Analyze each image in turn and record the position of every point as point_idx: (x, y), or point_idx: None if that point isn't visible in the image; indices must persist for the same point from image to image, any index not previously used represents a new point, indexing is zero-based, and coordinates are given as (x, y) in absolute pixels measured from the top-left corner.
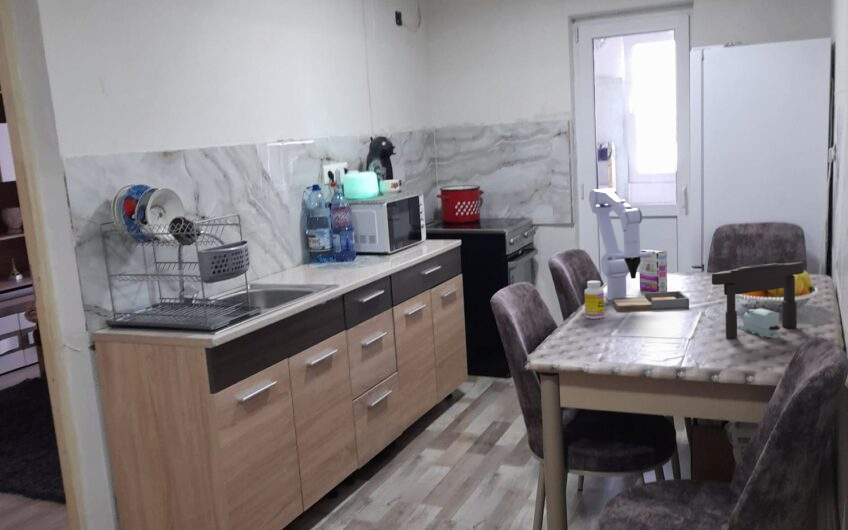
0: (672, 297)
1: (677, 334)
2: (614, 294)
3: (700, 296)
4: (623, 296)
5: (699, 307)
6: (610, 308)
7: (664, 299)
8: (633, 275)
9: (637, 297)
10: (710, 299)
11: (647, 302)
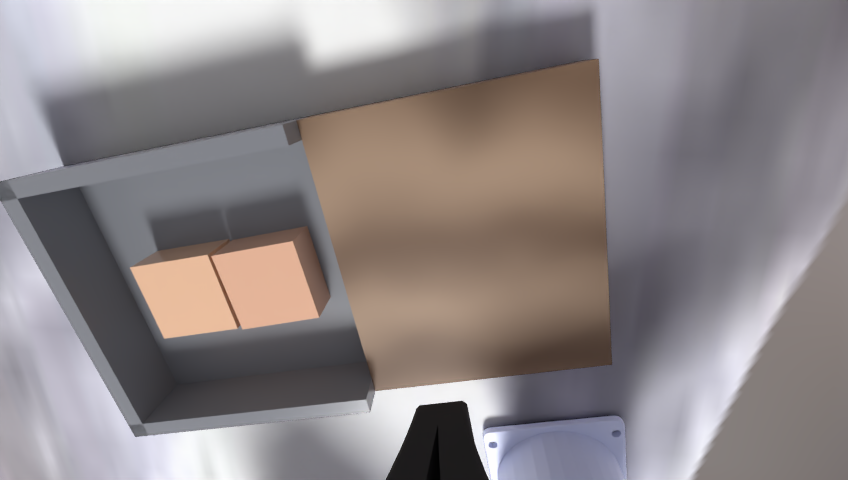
0: (169, 317)
1: None
2: (585, 457)
3: (89, 460)
4: (519, 451)
5: None
6: (632, 186)
7: (177, 158)
8: (440, 429)
9: (424, 372)
10: (15, 392)
11: (339, 202)
